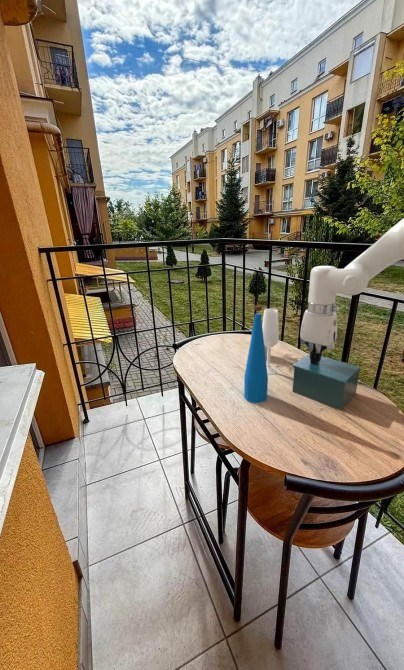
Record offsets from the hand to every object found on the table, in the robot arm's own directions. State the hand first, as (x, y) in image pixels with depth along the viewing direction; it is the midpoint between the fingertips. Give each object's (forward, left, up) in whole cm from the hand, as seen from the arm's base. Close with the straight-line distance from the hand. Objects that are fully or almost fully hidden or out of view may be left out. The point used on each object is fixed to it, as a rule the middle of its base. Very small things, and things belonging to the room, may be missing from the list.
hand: (314, 362), depth 92 cm
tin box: (-4, 0, -10) cm, 11 cm away
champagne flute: (+18, -1, -10) cm, 21 cm away
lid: (-4, 0, -1) cm, 4 cm away
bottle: (+11, +17, -10) cm, 23 cm away
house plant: (+27, -12, -10) cm, 31 cm away
